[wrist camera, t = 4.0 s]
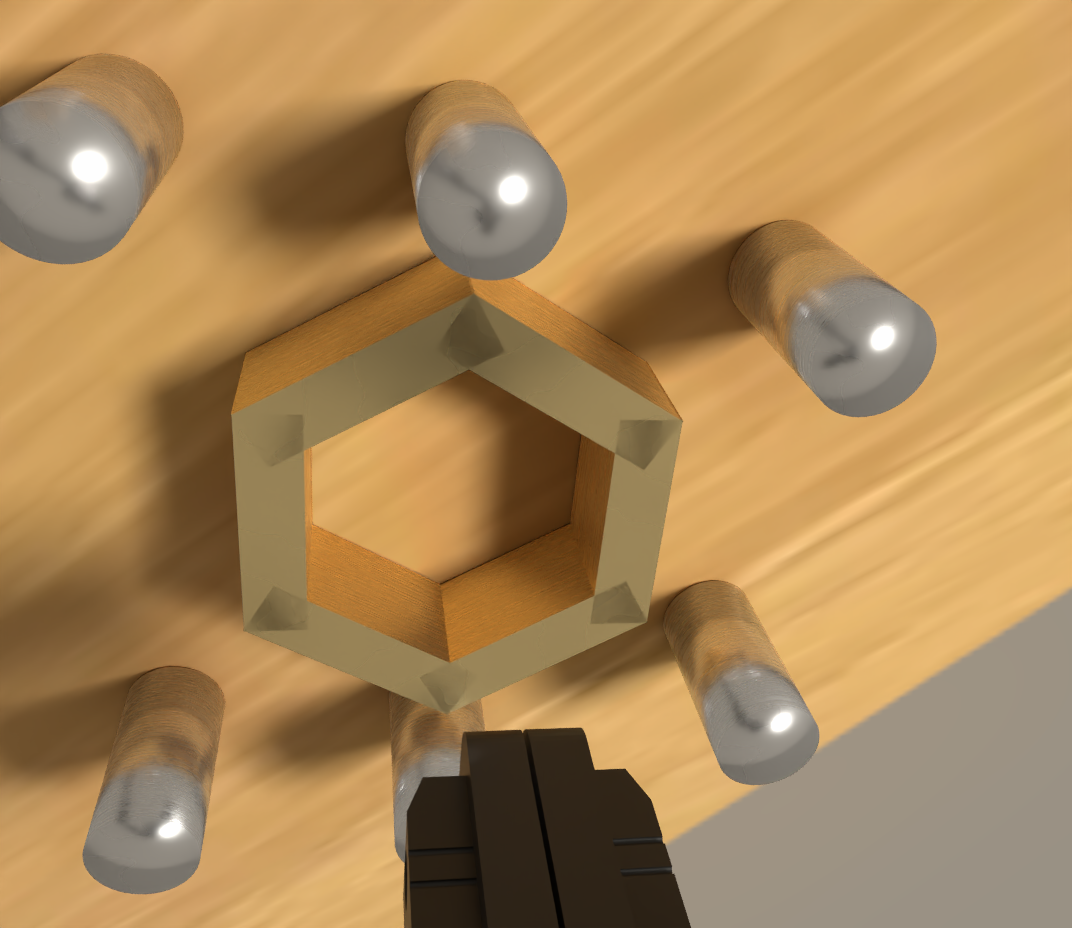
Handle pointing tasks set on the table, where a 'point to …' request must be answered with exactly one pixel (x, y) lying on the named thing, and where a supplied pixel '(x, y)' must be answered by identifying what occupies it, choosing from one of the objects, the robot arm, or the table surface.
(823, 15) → the table surface
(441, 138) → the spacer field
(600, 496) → the tan hexagonal ring
